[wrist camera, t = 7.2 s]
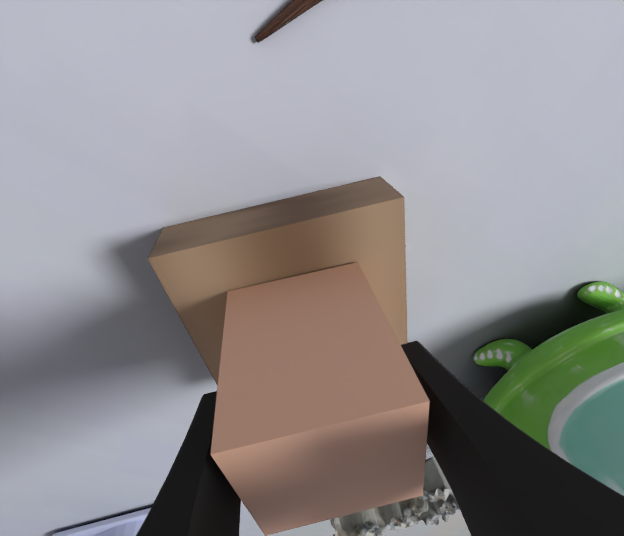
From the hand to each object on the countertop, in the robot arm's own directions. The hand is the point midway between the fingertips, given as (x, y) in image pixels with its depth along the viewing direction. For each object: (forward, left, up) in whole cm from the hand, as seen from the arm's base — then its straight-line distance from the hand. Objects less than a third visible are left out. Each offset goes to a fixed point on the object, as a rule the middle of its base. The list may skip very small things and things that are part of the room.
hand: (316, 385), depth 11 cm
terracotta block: (0, 0, -3) cm, 3 cm away
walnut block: (0, 0, -6) cm, 6 cm away
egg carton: (+4, -22, -6) cm, 23 cm away
